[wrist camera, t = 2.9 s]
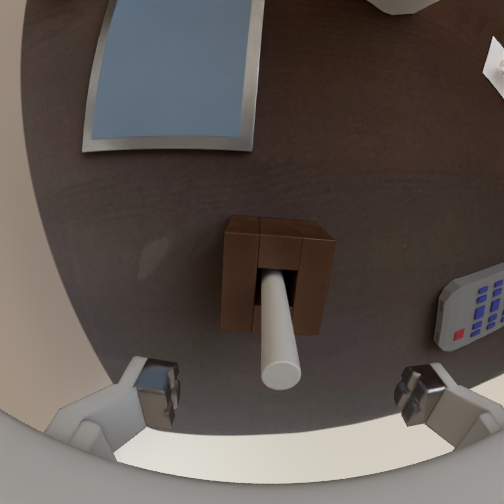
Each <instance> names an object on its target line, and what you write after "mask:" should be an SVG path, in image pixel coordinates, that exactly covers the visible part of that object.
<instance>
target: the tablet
mask: <svg viewBox="0 0 504 504" xmlns="http://www.w3.org/2000/svg"><path fill="white" fill-rule="evenodd" d="M264 5H265V0H110V1H109V4H108V7H107V10H106V14H105V17H104V20H103V24H102V27H101V31H100V35H99V39H98V43H97V47H96V52H95V56H94V61H93V66H92V71H91V77H90V83H89V89H88V96H87V103H86V111H85V120H84V130H83V143H82V153H91V152H105V151H123V150H158V149H184V150H220V151H239V152H252V151H253V138H254V125H255V112H256V100H257V88H258V75H259V63H260V51H261V40H262V28H263V17H264Z"/></svg>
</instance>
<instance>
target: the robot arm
mask: <svg viewBox="0 0 504 504" xmlns="http://www.w3.org/2000/svg"><path fill="white" fill-rule="evenodd" d="M178 373H179V369H178V364H177V363H175V362H169V361H163V360H157V359H152V358H146V357H140V356H134V357H133V358H132V360H131V361H130V363H129V365H128V366H127V368H126V370H125V371H124V373H123V375H122V377H121V378H120V380H119V382H118V384H112V385H109V386H108V387H105V388H103V389H101V390H99V391H97V392H95V393H93V394H90V395H88V396H86V397H84V398H82V399H80V400H78V401H76V402H74V403H71V404H69V405H67V406H64V407H62V408H60V409H59V410H58V412H57V413H56V415H55V416H54V418H53V419H52V421H51V422H50V424H49V425H48V427H47V428H46V430H45V431H44V433H42V432H40V431H38V430H36V429H34V428H32V427H30V426H29V425H26V424H25V423H23V422H21V421H19V420H18V419H16V418H14V417H12V416H11V415H9V414H7V413H5V412H4V411H2V410H1V409H0V504H504V408H503V406H502V405H500V404H498V403H496V402H494V401H492V400H490V399H488V398H486V397H484V396H482V395H479V394H477V393H475V392H473V391H471V390H469V389H467V388H465V387H463V386H461V385H459V386H458V385H457V384H456V383H455V382H454V380H453V379H452V378H451V376H450V375H449V374H448V373H447V371H446V370H445V369H444V368H443V366H442V365H441V364H440V363H438V362H436V363H430V364H425V365H418V366H410V367H406V368H405V369H404V370H403V373H402V375H401V376H402V380H401V381H400V382H399V383H398V384H397V386H396V389H395V392H394V400H395V403H396V405H397V407H398V408H400V409H401V410H403V411H402V414H401V415H402V417H403V419H404V421H405V423H406V425H407V427H408V426H413V425H418V424H423V423H425V425H427V426H428V427H429V428H430V429H432V430H433V431H434V432H436V433H437V434H438V435H439V436H441V437H442V438H443V439H444V440H446V441H447V442H448V443H450V444H451V445H452V446H454V447H455V449H454V450H453V451H452V452H450V453H447V454H444V455H441V456H438V457H435V458H432V459H430V460H426V461H423V462H420V463H416V464H413V465H409V466H406V467H401V468H398V469H393V470H389V471H385V472H380V473H375V474H370V475H365V476H359V477H353V478H346V479H340V480H331V481H321V482H310V483H292V484H251V483H231V482H220V481H210V480H202V479H195V478H188V477H181V476H176V475H171V474H165V473H160V472H156V471H151V470H147V469H142V468H138V467H135V466H131V465H127V464H124V463H120V462H117V460H116V458H115V456H114V454H113V452H115V451H116V450H117V449H119V448H120V447H121V446H123V445H124V444H125V443H127V442H128V441H129V440H130V439H132V438H133V437H134V436H135V435H137V434H138V433H139V432H141V431H142V430H143V429H144V428H146V426H150V427H156V428H162V429H168V430H171V427H172V424H173V420H174V417H175V414H174V409H175V408H176V407H178V403H179V398H180V381H179V380H178V379H177V376H178Z"/></svg>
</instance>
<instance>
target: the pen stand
mask: <svg viewBox="0 0 504 504" xmlns="http://www.w3.org/2000/svg"><path fill="white" fill-rule="evenodd" d="M335 243H336V240H335V239H334V238H332V237H331V236H330V235H329V234H328V233H327V232H326V231H325V230H324V229H323V228H321V227H320V226H319V225H318V224H317V223H316V222H315V221H305V220H294V219H282V218H270V217H256V216H242V215H232V216H231V219H230V221H229V223H228V225H227V228H226V230H225V232H224V246H223V268H222V292H221V322H220V329H221V330H225V331H238V332H251V331H252V333H261V272H257V267H258V268H268V269H283V270H284V274H283V273H282V274H283V279H284V284H285V289H286V294H287V299H288V304H289V309H290V315H291V320H292V325H293V331H294V335H319V332H320V327H321V322H322V317H323V312H324V307H325V302H326V297H327V291H328V286H329V280H330V274H331V269H332V262H333V256H334V250H335Z"/></svg>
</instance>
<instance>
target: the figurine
mask: <svg viewBox="0 0 504 504" xmlns="http://www.w3.org/2000/svg"><path fill="white" fill-rule="evenodd" d="M483 74H484V75H485V76H486V77H487V78H488V79H489V80H490V82H491V83H492V84H493V86H494V87H495V88H496V89H497V91H498V92H499V93H500V94H501V96H502V97H503V98H504V48H503V47H502V46H501V45H500V43H499V42H498V41H497V40H496V39H495V38H494V36H493V38H492V42H491V46H490V49H489V53H488V56H487V59H486V63H485V66H484V69H483Z"/></svg>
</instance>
